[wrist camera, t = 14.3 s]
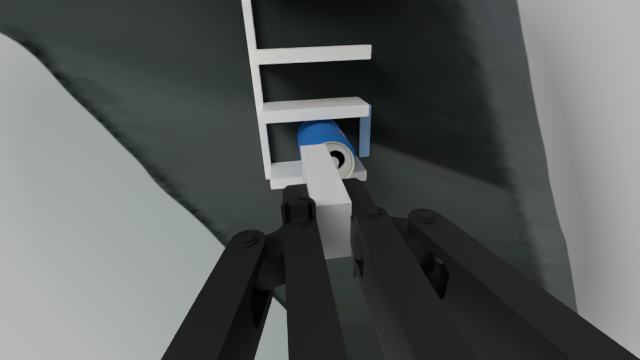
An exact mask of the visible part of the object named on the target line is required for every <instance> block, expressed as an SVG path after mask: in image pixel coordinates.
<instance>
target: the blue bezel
mask: <svg viewBox="0 0 640 360" xmlns="http://www.w3.org/2000/svg"><path fill="white" fill-rule="evenodd" d="M370 125H371V105H369V116H367V117H360V125H359V157H369V150H370Z"/></svg>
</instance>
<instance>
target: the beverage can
mask: <svg viewBox="0 0 640 360" xmlns="http://www.w3.org/2000/svg"><path fill="white" fill-rule="evenodd" d="M297 142H298V147H299V153H300V158H301V150H300V146H306V145H317V144H326V146H327V148H328V151H329V153H330V155H331V157H332V160H333V162H334V164H335V166H336V169H337V171H338V173H339V175H340V178H341V179H347V178H349V177H350V176H351V175H352V173H353V170H354V167H355V162H356V155H355V151H354V148H353V146H352V145H351V143H350V142H349V141H348V139H347V138H346V136H345V135H344V134H343V132H342V131H341V129H340V128H339V127H338V125H337V124H336V122H335V121H334V120H333V119H324V120H310V121H303V122H302V124H301V125H300V127H299V129H298V132H297ZM301 164H302V163H301Z"/></svg>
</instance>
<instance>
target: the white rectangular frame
mask: <svg viewBox="0 0 640 360" xmlns="http://www.w3.org/2000/svg"><path fill="white" fill-rule="evenodd" d="M242 7H243V15H244V22H245V29H246V37H247V44H248V51H249V58H250V66H251V73H252V80H253V88H254V95H255V102H256V110H257V117H258V124H259V132H260V139H261V146H262V154H263V161H264V168H265V175H266V179H270V184H271V189H280V188H285V187H286V186H287V185H296V184H303V175H302V164H301V160H300V161H288V162H276V163H271V158H270V150H269V141H268V133H267V125H266V124H267V123H281V122H295V121H310V120H324V119H338V118H352V117H367V116H369V104H368V103H366V102H365V101H363V100H362V99H360V98H359V97H343V98H328V99H312V100H296V101H280V102H264V101H263V93H262V85H261V77H260V69H259V65H261V64H281V63H300V62H320V61H340V60H360V59H371V45H343V46H320V47H298V48H276V49H257V45H256V37H255V29H254V21H253V13H252V5H251V0H242ZM366 176H367V171H366V169H365V168H364V166H363V165H362V163H361V162H360V160H359V159H358V157H357V156H356V162H355V167H354V170H353V173H352V175H351V176H350V177H349V178H357V179H359V180H360V181H366Z"/></svg>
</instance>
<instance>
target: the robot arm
mask: <svg viewBox="0 0 640 360" xmlns="http://www.w3.org/2000/svg"><path fill="white" fill-rule="evenodd" d="M300 150H301V163H302V175H303V184H296V185H287V186H286V187H285V189H284V190H283V203H282V205H281V212H282V220H283V225H282V226H281V227H280V228H279V229H278V230H277V231H275V232H273V233H271V234H268V235H264V233H262V232H261V231H259V230H245V231H242V232H239V233H238V234H236V235H234V236H233V237H232V239H231V240H230V241H229V243H228V245H227V246H226V248H225V250H224V252H223V253H222V255H221V257H220V258H219V260H218V262H217V264H216V265H215V267H214V269H213V271H212V272H211V274H210V276H209V277H208V279H207V281H206V283H205V284H204V286H203V288H202V290H201V291H200V293H199V295H198V297H197V298H196V300H195V302H194V303H193V305H192V307H191V309H190V310H189V312H188V314H187V316H186V317H185V319H184V321H183V322H182V324H181V326H180V328H179V330H178V331H177V333H176V335H175V336H174V338H173V340H172V342H171V343H170V345H169V347H168V348H167V350H166V352H165V354H164V355H163V357H162V359H161V360H254V358H255V355H256V351H257V348H258V345H259V341H260V338H261V335H262V331H263V328H264V324H265V320H266V318H267V314H268V311H269V308H270V304H271V301H272V297H273V294H274V288H276V287H278V286H281V285H283V284H285V283H286V305H287V329H288V353H289V360H348V359H347V355H346V350H345V346H344V341H343V337H342V332H341V328H340V323H339V319H338V314H337V310H336V305H335V301H334V296H333V292H332V287H331V283H330V278H329V274H328V269H327V265H326V260H325V259H332V258H339V257H347V256H351V248H352V250H353V253H354V278H356V273H357V275H358V278H359V281H360V284H361V287H362V290H363V293H364V296H365V299H366V302H367V305H368V308H369V311H370V314H371V318H372V321H373V324H374V327H375V330H376V333H377V336H378V339H379V342H380V345H381V348H382V351H383V354H384V357H385V360H477V358H476V357H475V355H474V353H473V352H472V350H471V349H470V347H471V348H472V349H473V351H474V352H475V353H476V354H477V355H478V356H479V357H480V358H481V360H640V359H639V358H637V357H636V356H635V355H633V354H632V353H630V352H629V351H628V350H626V349H625V348H624V347H622V346H621V345H619V344H618V343H617V342H615V341H614V340H612V339H611V338H610V337H608V336H607V335H606V334H604V333H603V332H602V331H600V330H599V329H597V328H596V327H595V326H593V325H592V324H590V323H589V322H588V321H586V320H585V319H584V318H582V317H581V316H580V315H578V314H577V313H575V312H574V311H573V310H571V309H570V308H568V307H567V306H566V305H564V304H563V303H562V302H560V301H559V300H557V299H556V298H555V297H553V296H552V295H551V294H549V293H548V292H546V291H545V290H544V289H542V288H541V287H540V286H538V285H537V284H535V283H534V282H533V281H531V280H530V279H529V278H527V277H526V276H524V275H523V274H522V273H520V272H519V271H518V270H516V269H515V268H513V267H512V266H511V265H509V264H508V263H507V262H505V261H504V260H502V259H501V258H500V257H498V256H497V255H495V254H494V253H493V252H491V251H490V250H489V249H487V248H486V247H484V246H483V245H482V244H480V243H479V242H478V241H476V240H475V239H473V238H472V237H471V236H469V235H468V234H467V233H465V232H464V231H462V230H461V229H460V228H458V227H457V226H456V225H454V224H453V223H451V222H450V221H449V220H447V219H446V218H445V217H443V216H442V215H440V214H439V213H437V212H435V211H433V210H429V209H415V210H413V211H411V212H410V213H409V214H408V218H397V217H391V216H389V215H388V213H387V212H386V211H385V210H384V209H383V208H381V207H379V206H376V205H375V203H374V201H373V200H372V198H371V196H370V194H369V193H368V191H367V189H366V188H365V186H364V184H363V182H362V181H360V180H359V179H357V178H347V179H341V178H340V175H339V173H338V171H337V169H336V166H335V164H334V162H333V160H332V157H331V155H330V153H329V151H328V148H327V146H326V144H317V145H306V146H300ZM437 258H438V259H440V260H441V261H442V262H443V264H441V263H440V262H439V261H438V260H437ZM469 346H470V347H469Z"/></svg>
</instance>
